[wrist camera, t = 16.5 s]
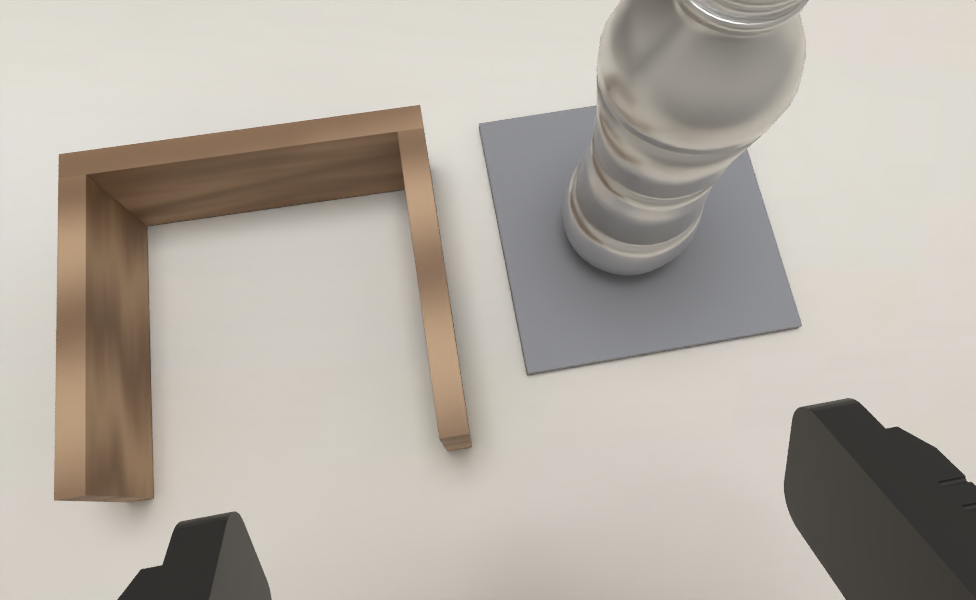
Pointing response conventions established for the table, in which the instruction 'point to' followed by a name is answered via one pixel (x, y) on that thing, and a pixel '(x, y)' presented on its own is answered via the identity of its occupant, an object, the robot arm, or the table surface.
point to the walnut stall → (200, 194)
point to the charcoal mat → (625, 298)
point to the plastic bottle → (675, 120)
